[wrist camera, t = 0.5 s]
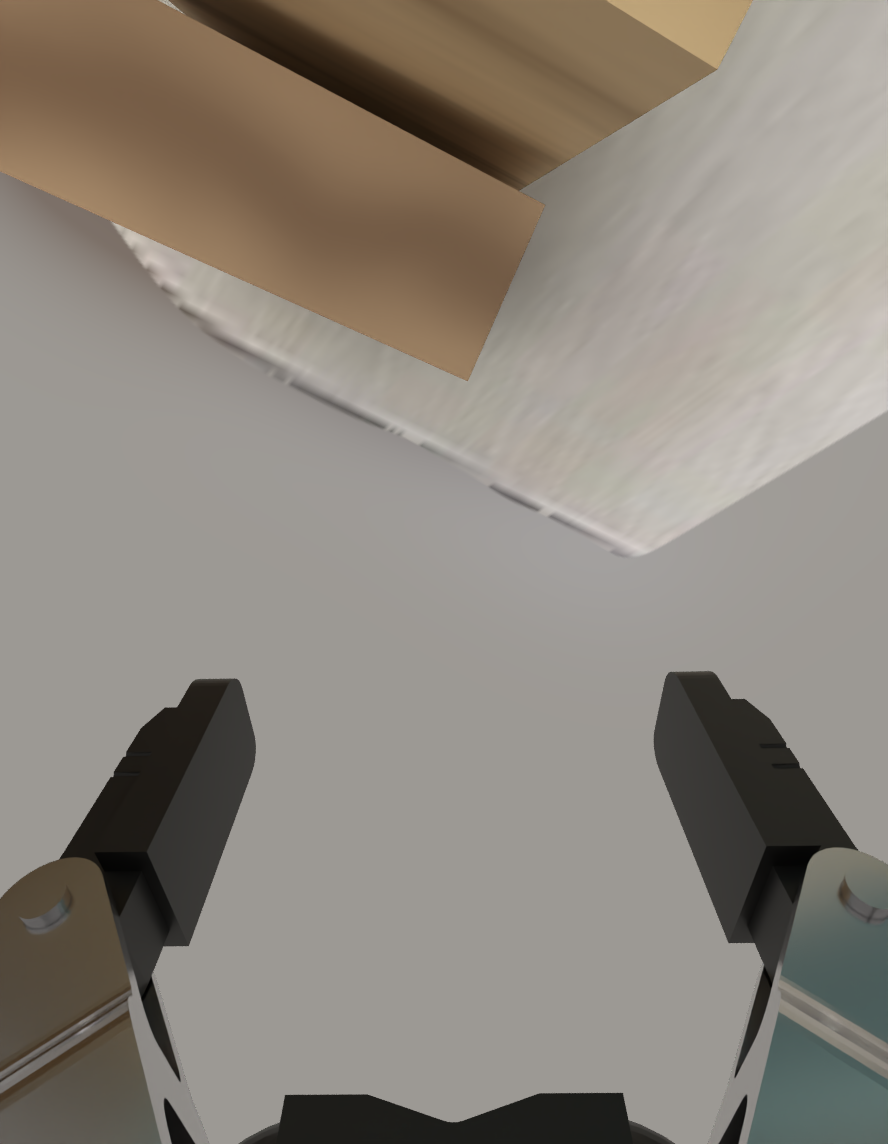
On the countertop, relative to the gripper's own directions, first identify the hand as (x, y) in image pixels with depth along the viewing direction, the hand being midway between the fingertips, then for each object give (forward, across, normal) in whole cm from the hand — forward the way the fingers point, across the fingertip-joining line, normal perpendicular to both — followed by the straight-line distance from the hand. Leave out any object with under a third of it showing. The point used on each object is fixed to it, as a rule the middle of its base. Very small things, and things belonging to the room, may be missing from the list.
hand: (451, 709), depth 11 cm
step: (+32, +5, -9) cm, 34 cm away
